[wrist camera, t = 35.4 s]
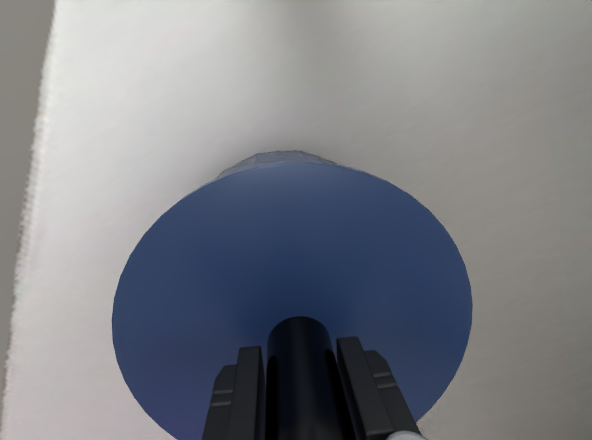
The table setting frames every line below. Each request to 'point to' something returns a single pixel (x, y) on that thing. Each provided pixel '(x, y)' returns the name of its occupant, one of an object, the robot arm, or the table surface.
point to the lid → (290, 297)
